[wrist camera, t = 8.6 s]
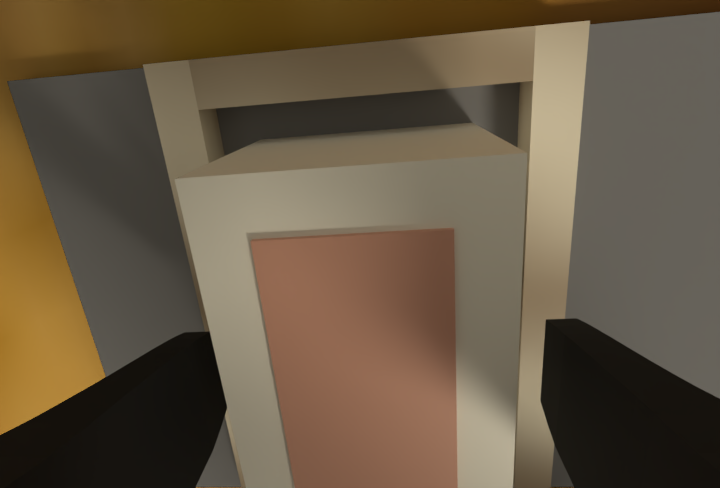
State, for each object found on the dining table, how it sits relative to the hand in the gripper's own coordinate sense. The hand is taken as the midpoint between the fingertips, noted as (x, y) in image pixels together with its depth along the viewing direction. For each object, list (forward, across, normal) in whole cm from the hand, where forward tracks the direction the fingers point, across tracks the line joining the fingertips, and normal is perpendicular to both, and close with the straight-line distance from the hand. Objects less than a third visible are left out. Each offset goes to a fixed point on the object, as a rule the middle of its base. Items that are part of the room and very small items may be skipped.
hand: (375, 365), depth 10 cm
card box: (+3, 0, 0) cm, 3 cm away
